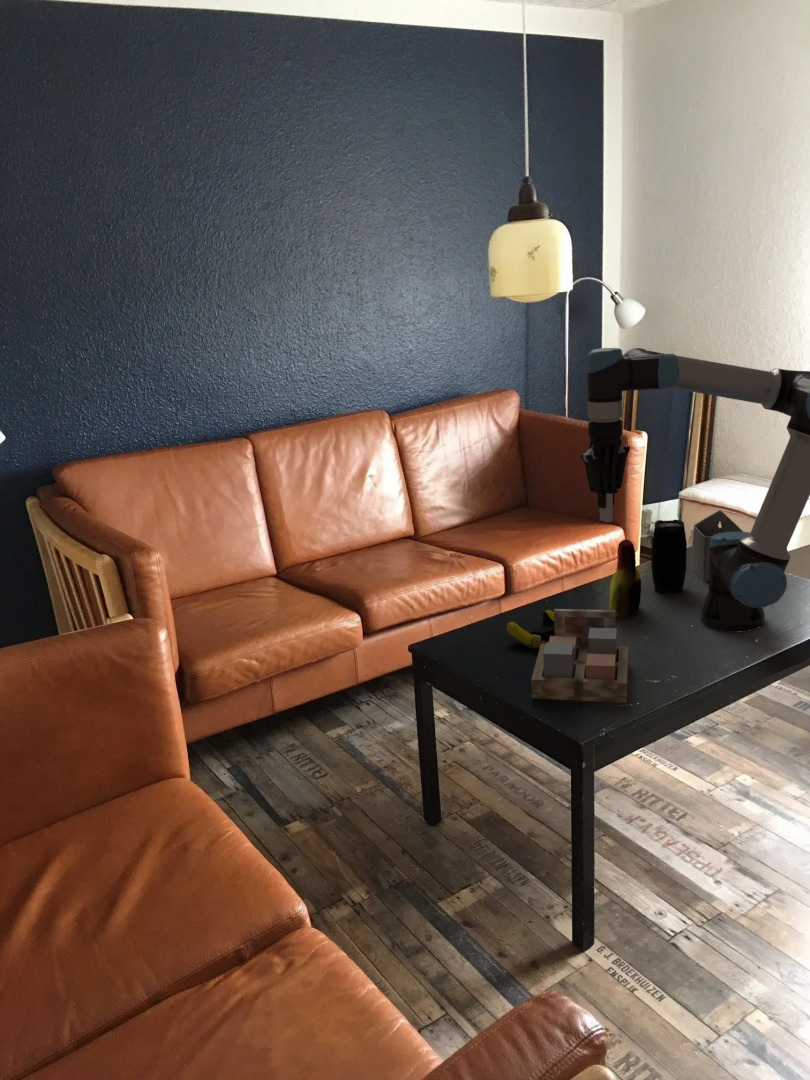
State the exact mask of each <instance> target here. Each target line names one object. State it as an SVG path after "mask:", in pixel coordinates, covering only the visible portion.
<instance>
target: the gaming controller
mask: <svg viewBox="0 0 810 1080" xmlns="http://www.w3.org/2000/svg"><path fill="white" fill-rule="evenodd" d="M506 633H507V634H508V635H509V637H510V638H511V639H513V640H514V641H516V642H518V643H519V644H520V645H523V646H525V647H528V649H532V650H533V649H540V645H541V644H546V642H549V640H550V636H555V630H554V611H552V610H550V609H548V610H547V609H546V610H544V611H543V612H542V625H541V627H539V628H537V629H533V630H531V631H527V630H525V629H523V628H522V627H521V626H519V624H517V623H516V622H514V621H511V622H508V624H507V625H506Z"/></svg>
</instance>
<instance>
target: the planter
mask: <svg viewBox="0 0 810 1080" xmlns="http://www.w3.org/2000/svg"><path fill="white" fill-rule="evenodd" d="M719 524H720V527H719ZM724 532H744V531H743V529H741V528H740V527H739V526H738V525H737V524H736V523H735V522H734V521H733V520H732V519H731V518H730V517H729V516H728V515H726V513H724V512H723V511H722V510H721V509H720V510H718V511H716V512H714V513H712V514H710V515H709V516H707V517H705V518H704V519H702V520H700V521H699V522H697V523H695V524H694V525H693V538H692V539H693V542H692V543H693V547H692V548H693V550H692V552H693V553H692V570H693V569H694V570H693V571H695V572H696V573H695V572H694V573H695V574H696V576H697V575H698V576H699V577H700V578H701V579H702V580H703V581H709V558H710V549H709V546H710V539H711V537H712V536H713V535H715V534H718V533H724ZM698 576H697V577H698ZM699 577H698V578H699ZM700 578H699V579H700ZM701 579H700V580H701ZM702 580H701V581H702ZM703 581H702V582H703Z"/></svg>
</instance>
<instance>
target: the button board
mask: <svg viewBox="0 0 810 1080" xmlns="http://www.w3.org/2000/svg"><path fill="white" fill-rule="evenodd" d="M553 612H554V630H555V636H567V637H577V660H574V671H573V677H572V678H559V677H544V661H543V653H544V649H545V645H546V644H541V645H540V648H538V649H539V651H538V654H537V657H536V661H535V664H534V668H533V673H532V677H531V699H539V700H541V699H543V700H559V701H560V700H563V701H580V702H581V701H582V702H583V701H584V702H600V703H601V702H603V703H604V702H605V703H624V704H625V703H627V699H628V680H629V646H624V645H623V646H621V645H619V646H618V645H617V658H616V680H606V679H586V661H587V654H588V636H589V630H590V628H616V616H615V610H610V609H578V608H577V609H576V608H575V609H574V608H573V609H571V608H569V609H568V608H567V609H565V608H553Z"/></svg>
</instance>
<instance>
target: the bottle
mask: <svg viewBox="0 0 810 1080" xmlns="http://www.w3.org/2000/svg"><path fill="white" fill-rule="evenodd" d="M636 560H637V559H636V551H635V546H634V543H633V542H632V541H631V540H630V539H623V540H621V541H620V542H619V543H618V545H617V562H616V569H615V572H614V574H613V576H612V577H611V580H610V584H609V585H610V586H609V600H608V601H609V610H615V617H619V618H628V617H630V616H631V615H633V614H635V613H636V612H637V611H639V608H640V605H641V597H642V581H641V580H642V579H641V575H640V573H639V570H638V569H637V568H636V563H637V561H636Z"/></svg>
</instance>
